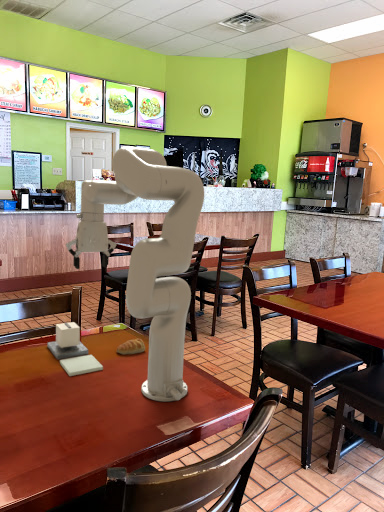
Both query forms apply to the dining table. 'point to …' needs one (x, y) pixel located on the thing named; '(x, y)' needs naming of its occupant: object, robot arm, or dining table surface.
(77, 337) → the white slotted cube
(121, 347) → the pastry
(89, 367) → the coaster
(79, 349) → the post stand
